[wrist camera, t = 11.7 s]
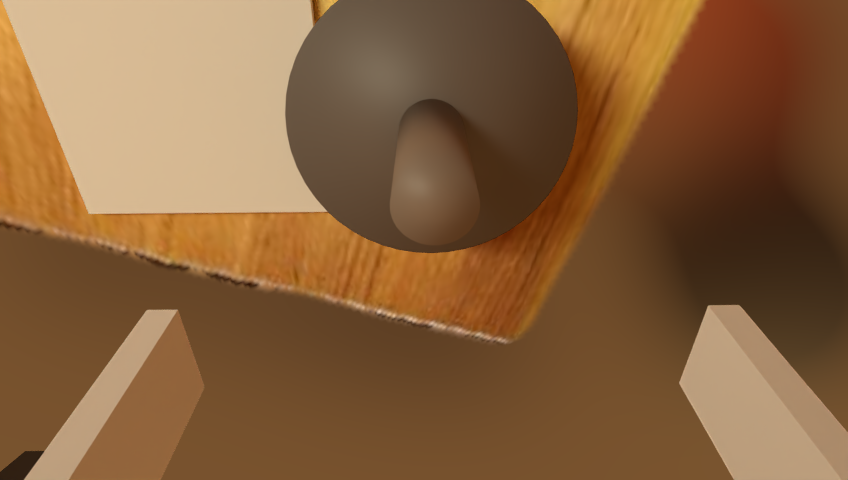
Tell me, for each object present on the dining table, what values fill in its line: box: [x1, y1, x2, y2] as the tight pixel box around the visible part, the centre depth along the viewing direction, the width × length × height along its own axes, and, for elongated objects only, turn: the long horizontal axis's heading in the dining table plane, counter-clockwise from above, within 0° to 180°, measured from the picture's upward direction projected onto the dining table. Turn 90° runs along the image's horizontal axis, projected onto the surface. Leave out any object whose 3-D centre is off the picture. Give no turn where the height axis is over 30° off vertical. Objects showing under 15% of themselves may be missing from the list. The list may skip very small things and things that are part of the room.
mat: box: [2, 0, 328, 214], centre depth 32 cm, size 18×18×1 cm
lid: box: [285, 0, 578, 253], centre depth 24 cm, size 16×16×10 cm
